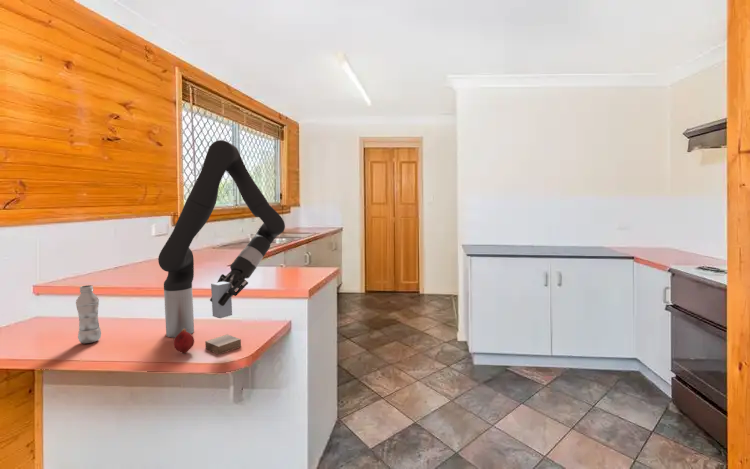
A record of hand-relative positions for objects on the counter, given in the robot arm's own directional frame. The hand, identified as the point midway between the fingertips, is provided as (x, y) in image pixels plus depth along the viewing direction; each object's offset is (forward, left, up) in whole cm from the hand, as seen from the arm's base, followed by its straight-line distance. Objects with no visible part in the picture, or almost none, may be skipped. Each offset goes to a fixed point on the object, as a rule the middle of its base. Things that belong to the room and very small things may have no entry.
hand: (216, 303), depth 118 cm
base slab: (0, +2, -16) cm, 16 cm away
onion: (-6, -8, -16) cm, 19 cm away
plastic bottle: (-43, -23, -16) cm, 51 cm away
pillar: (0, +2, -5) cm, 5 cm away
